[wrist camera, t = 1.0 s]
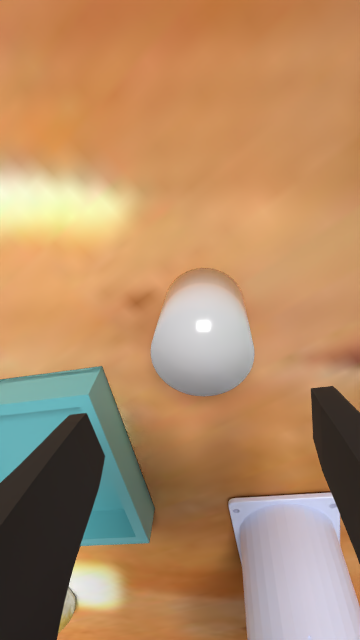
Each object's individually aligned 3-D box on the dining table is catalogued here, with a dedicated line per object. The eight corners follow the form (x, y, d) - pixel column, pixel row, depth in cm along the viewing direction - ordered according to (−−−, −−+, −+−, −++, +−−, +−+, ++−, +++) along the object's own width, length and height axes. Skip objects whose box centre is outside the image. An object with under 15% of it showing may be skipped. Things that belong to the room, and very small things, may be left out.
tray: (154, 508, 27) (149, 543, 25) (0, 517, 30) (-19, 549, 27) (101, 366, 21) (88, 394, 19) (-88, 391, 24) (-121, 418, 21)
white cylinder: (248, 334, 20) (259, 390, 15) (173, 344, 20) (163, 401, 16) (238, 261, 18) (247, 301, 13) (156, 275, 18) (139, 317, 14)
